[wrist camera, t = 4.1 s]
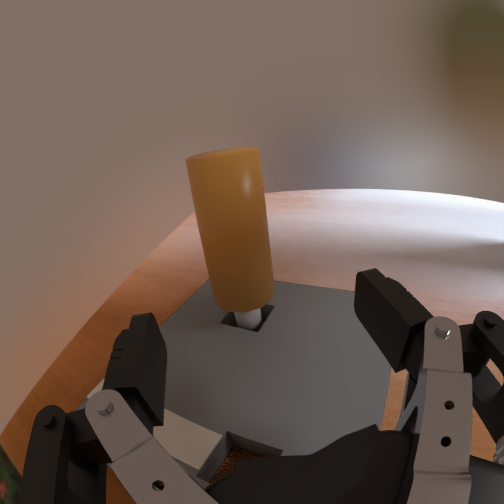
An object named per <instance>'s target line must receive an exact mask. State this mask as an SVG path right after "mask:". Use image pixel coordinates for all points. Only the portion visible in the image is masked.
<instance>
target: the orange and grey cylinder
mask: <svg viewBox="0 0 504 504" xmlns="http://www.w3.org/2000/svg"><path fill="white" fill-rule="evenodd" d="M186 165H187V171H188V176H189V181H190V187H191V192H192V198H193V203H194V208H195V213H196V218H197V223H198V228H199V232H200V237H201V242H202V247H203V251H204V256H205V260H206V265H207V269H208V274H209V278H210V282H211V287H212V291H213V295H214V299H215V302H216V304H217V305H218V306H219V307H220V308H222V309H224V310H226V311H230V312H234V314H235V319H236V324H237V328H242V329H246V330H250V331H254V332H259V330H260V329H261V327H262V326H263V325H262V317H261V310H260V308H261V307H263V306H265V305H266V304H267V303H269V302H270V301H271V299H272V298H273V296H274V293H275V290H274V280H273V270H272V260H271V250H270V241H269V232H268V223H267V214H266V205H265V196H264V187H263V179H262V170H261V162H260V154H259V148H258V147H239V148H230V149H222V150H216V151H211V152H206V153H202V154H198V155H195V156H191V157H189V158H187V159H186Z"/></svg>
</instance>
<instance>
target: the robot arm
mask: <svg viewBox="0 0 504 504" xmlns="http://www.w3.org/2000/svg"><path fill="white" fill-rule="evenodd" d="M354 310H355V314H356V316H357V318H358V319H359V321H360V322H361V324H362V325H363V326H364V328H365V329H366V331H367V332H368V333H369V335H370V336H371V338H372V339H373V341H374V342H375V343H376V345H377V346H378V348H379V349H380V351H381V352H382V354H383V355H384V356H385V358H386V359H387V361H388V362H389V364H390V365H391V367H392V368H393V370H394V371H395V373H397V372H399V371H401V370H404V369H407V371H408V375H407V378H406V385H405V391H404V397H403V403H402V408H401V413H400V417H399V420H398V423H397V425H396V428H395V430H385V431H379V429H378V427H377V425H376V424H373V425H371V426H368V427H366V428H363V429H361V430H358V431H355V432H352V433H350V434H347V435H344V436H342V437H341V438H339V439H337V440H336V441H334V442H332V443H331V444H329V445H327V446H326V447H324V448H322V449H320V450H318V451H317V452H315V453H313V454H310V455H291V456H266V457H261V458H256V459H250V460H244V461H238V462H234V467H235V470H234V471H232V472H229V473H227V474H225V475H223V476H221V477H219V478H218V479H216V480H215V481H213V482H212V483H211V484H210V485H208V486H207V487H206V488H205V489H204V488H203V487H202V486H200V485H199V484H198V483H197V482H196V481H195V480H194V479H193V478H192V477H191V476H190V475H189V474H188V473H187V472H186V471H185V470H184V469H183V468H182V467H181V466H180V465H179V464H178V463H177V462H176V461H175V460H174V459H173V458H172V457H171V455H170V454H169V453H168V452H167V451H166V450H165V449H164V448H163V447H162V445H161V444H160V443H159V442H158V441H157V440H156V439H155V437H154V436H153V427H154V426H164V403H165V385H166V370H167V348H166V344H165V341H164V339H163V336H162V334H161V332H160V329H159V327H158V324H157V322H156V319H155V317H154V315H153V314H152V313H145V314H139V315H133V316H132V319H131V322H130V326H129V329H126V330H122V332H121V333H120V334H119V336H118V337H117V338H116V339H115V343H114V346H113V352H112V353H111V357H110V359H111V360H109V364H108V368H107V371H106V375H105V379H104V383H103V387H102V390H101V391H99V392H97V393H95V394H94V395H93V396H91V397H90V399H89V400H88V402H87V404H86V407H85V408H84V409H81V410H77V411H74V412H70V413H67V414H66V413H65V412H64V411H63V410H62V409H61V408H60V407H58V406H56V405H49V406H46V407H44V408H43V409H41V410H40V411H39V412H38V414H37V415H36V417H35V420H34V424H33V428H32V432H31V436H30V440H29V445H28V449H27V454H26V459H25V464H24V470H23V476H22V483H21V491H20V500H19V504H106V469H107V463H110V465H111V468H112V469H113V471H114V473H115V474H116V476H117V477H118V479H119V480H120V482H121V483H122V484H123V486H124V487H125V489H126V490H127V491H128V493H129V494H130V495H131V497H132V498H133V499H134V501H135V502H136V503H137V504H504V383H503V386H501V385H500V383H499V382H498V381H497V379H496V378H495V377H494V375H493V374H492V373H491V371H490V370H489V369H488V367H487V366H486V365H487V363H488V361H489V359H490V358H491V360H492V361H493V362H494V363H495V365H496V366H497V367H498V368H499V370H500V371H501V372H502V374H503V377H504V320H503V319H502V318H501V317H499V316H498V315H497V314H495V313H493V312H490V311H481V312H479V313H478V314H477V315H476V317H475V319H474V322H473V324H467V325H460V326H458V325H457V324H456V323H455V322H454V321H453V320H451V319H449V318H446V317H440V316H438V317H434V316H433V315H432V314H431V313H430V312H429V311H428V310H427V309H426V308H425V307H424V306H423V305H422V304H421V303H420V302H419V301H418V300H417V299H416V298H415V297H413V295H412V294H411V293H410V292H408V291H407V290H406V289H405V288H404V287H403V286H402V285H401V284H400V283H399V282H397V281H395V280H393V279H391V278H389V277H388V278H386V277H385V276H384V275H383V274H382V273H381V272H379V271H378V270H377V269H376V268H374V269H370V270H366V271H362V272H358V273H357V276H356V285H355V297H354ZM472 405H473V407H474V408H475V410H476V412H477V413H478V415H479V416H480V418H481V420H482V421H483V423H484V425H485V426H486V428H487V430H488V431H489V433H490V435H491V436H492V438H493V440H494V442H495V443H496V453H495V454H494V456H493V461H494V462H492V461H488V460H485V459H481V458H478V457H475V456H472V455H470V448H471V436H472ZM111 462H112V463H111ZM68 466H69V469H68ZM67 476H68V479H67Z"/></svg>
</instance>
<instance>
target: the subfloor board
mask: <svg viewBox="0 0 504 504" xmlns="http://www.w3.org/2000/svg"><path fill="white" fill-rule="evenodd" d="M274 290H275V293H274V296H273V298H272V299H271V301H270V302H269V303H267V304H266V305H265V306H263V307H261V308H260V310H261V317H262V322H265V323H264V324H263V326H262V327H261V329H260V330H259V332H254V331H250V330H246V329H242V328H237V327H236V326H237V324H236V319H235V314H234V312H230V311H226V310H224V309H222V308H220V307H219V306H218V305H217V304H216V302H215V299H214V295H213V291H212V287H211V282H210V278H209V279H208V280H207V281H206V282H205V283H204V284H203V285H202V286H201V287H200V288H199V289H198V290H197V291H196V292H195V293H194V294H193V295H192V296H191V297H190V298H188V299H187V300H186V301H185V302H184V303H183V304H182V305H181V306H180V307H179V308H178V309H177V310H176V311H175V312H174V313H173V314H172V315H171V316H170V317H169V318H168V319H167V320H166V321H165V322H164V323H163V324H162V325H161V326H160V327H159V329H160V332H161V334H162V336H163V339H164V341H165V344H166V348H167V370H166V385H165V403H164V426H154V427H153V436H154V437H155V439H156V440H157V441H158V442H159V443H160V444H161V445H162V447H163V448H164V449H165V450H166V451H167V452H168V453H169V454H170V455H171V457H172V458H173V459H174V460H175V461H176V462H177V463H178V464H179V465H180V466H181V467H182V468H183V469H184V470H185V471H186V472H187V473H188V474H189V475H190V476H191V477H192V478H193V479H194V480H195V481H196V482H197V483H198V484H199V485H200V486H202V487H203V488H204V489H205V488H206V487H207V486H208V485H210V483H208V482H209V481H210V480H211V478H212V477H213V475H214V474H215V472H216V471H217V469H218V468H219V466H220V465H221V463H222V461H223V460H224V458H225V457H226V455H227V454H228V452H229V451H230V449H231V447H232V446H233V445H234V446H237V447H240V448H242V449H245V450H248V451H251V452H253V453H256V454H259V455H262V456H265V457H266V456H291V455H310V454H313V453H315V452H317V451H318V450H320V449H322V448H324V447H326V446H327V445H329V444H331V443H332V442H334V441H336V440H337V439H339V438H341V437H342V436H344V435H347V434H350V433H352V432H355V431H358V430H361V429H363V428H366V427H368V426H371V425H373V424H376V425H377V427H378V429H379V431H380V427H381V422H382V418H383V413H384V408H385V403H386V397H387V391H388V385H389V379H390V372H391V365H390V364H389V362H388V361H387V359H386V358H385V356H384V355H383V354H382V352H381V351H380V349H379V348H378V346H377V345H376V343H375V342H374V341H373V339H372V338H371V336H370V335H369V333H368V332H367V331H366V329H365V328H364V326H363V325H362V324H361V322H360V321H359V319H358V318H357V316H356V314H355V310H354V297H355V291H348V290H340V289H332V288H325V287H317V286H310V285H302V284H295V283H288V282H281V281H274ZM104 379H105V378H104ZM104 379H103V380H102V381H101V382H100V383H99V384H98V385H97V386H96V387H95V388H94V389H93V390H92V391H91V392H90V393H89V394H88V395H87V396H86V397H87V398H86V399H85V400H84V401H83V402H82V403H81V404H80V405H79V406H78V407H77V408H76V409H75V410H74V411H77V410H81V409H84V408H85V407H86V404H87V402H88V400H89V399H90V397H91V396H93V395H94V394H95V393H97V392H99V391H101V390H102V387H103V383H104ZM74 411H73V412H74ZM111 463H112V462H111ZM107 466H108V467H109V468H110V469H112V468H111V465H110V463H107ZM112 470H113V469H112Z"/></svg>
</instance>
